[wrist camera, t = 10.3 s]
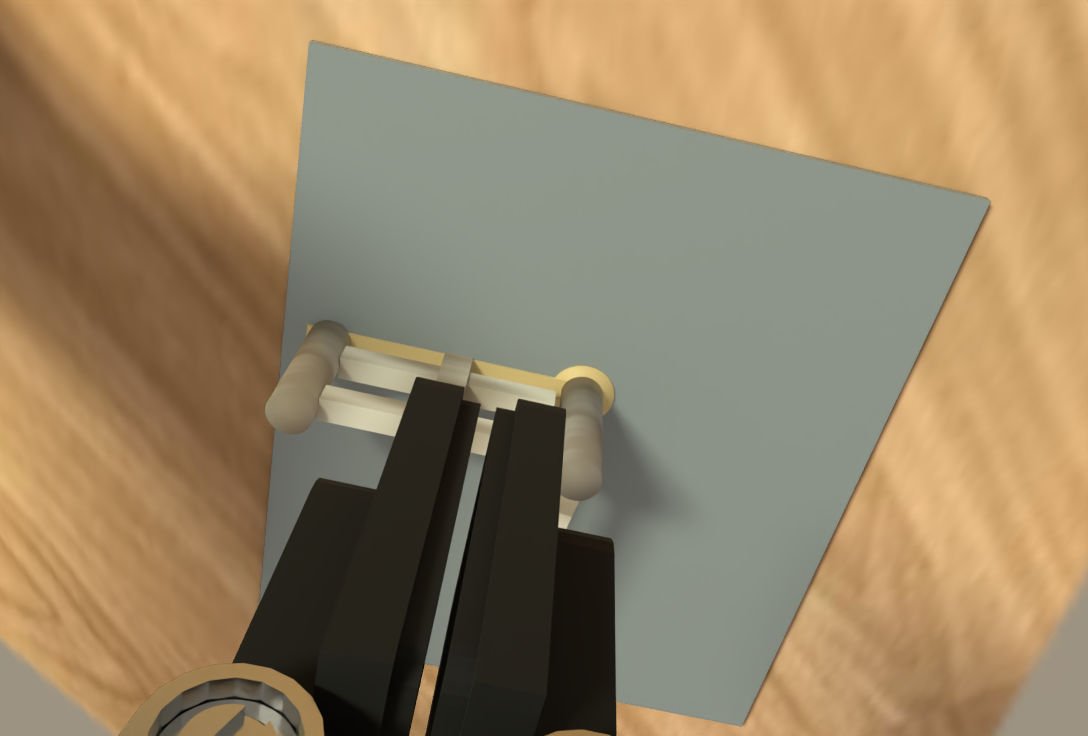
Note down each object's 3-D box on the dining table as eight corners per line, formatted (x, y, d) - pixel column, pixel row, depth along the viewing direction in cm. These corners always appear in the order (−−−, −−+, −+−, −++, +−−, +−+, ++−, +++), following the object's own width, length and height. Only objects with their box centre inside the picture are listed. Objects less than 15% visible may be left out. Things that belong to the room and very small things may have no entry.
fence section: (307, 352, 41) (259, 434, 35) (311, 316, 40) (263, 394, 34) (597, 415, 41) (595, 505, 36) (607, 380, 41) (607, 467, 35)
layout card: (259, 624, 49) (256, 631, 49) (311, 40, 35) (308, 42, 34) (740, 720, 51) (741, 728, 50) (987, 197, 36) (991, 202, 36)
